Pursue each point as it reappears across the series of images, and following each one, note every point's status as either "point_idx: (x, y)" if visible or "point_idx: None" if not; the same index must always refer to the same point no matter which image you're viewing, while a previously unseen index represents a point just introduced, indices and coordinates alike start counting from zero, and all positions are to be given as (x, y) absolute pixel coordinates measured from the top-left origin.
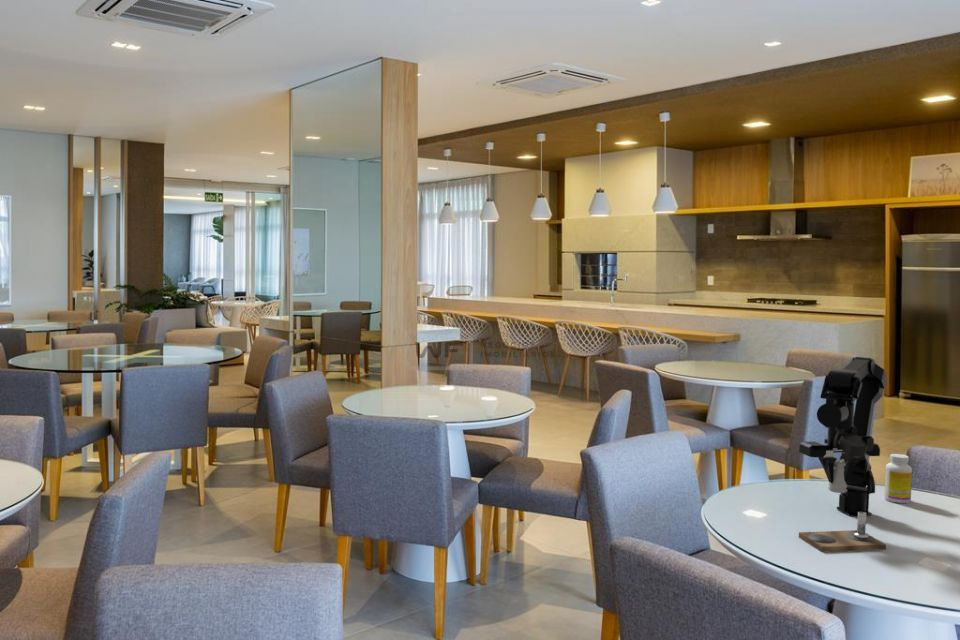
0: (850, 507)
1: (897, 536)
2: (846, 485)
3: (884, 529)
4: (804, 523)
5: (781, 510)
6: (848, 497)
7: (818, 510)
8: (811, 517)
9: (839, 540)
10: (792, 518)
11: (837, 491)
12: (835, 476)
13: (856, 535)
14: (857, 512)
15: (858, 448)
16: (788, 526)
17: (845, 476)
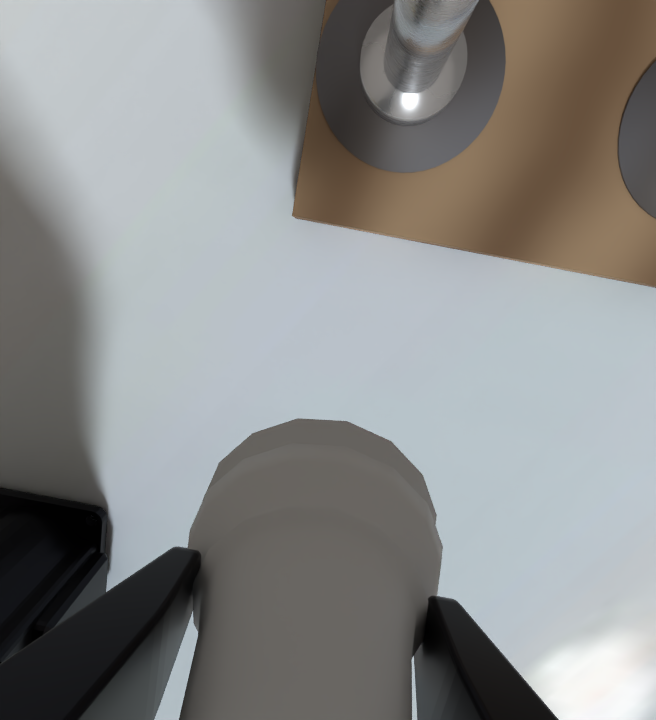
0: (60, 558)
1: (68, 120)
2: (245, 476)
3: (60, 262)
4: (460, 489)
5: None
6: (30, 614)
7: None
8: None
9: (617, 63)
10: (458, 573)
11: (400, 451)
12: (406, 690)
13: (466, 52)
14: (44, 517)
15: None
16: (596, 475)
17: (153, 651)
